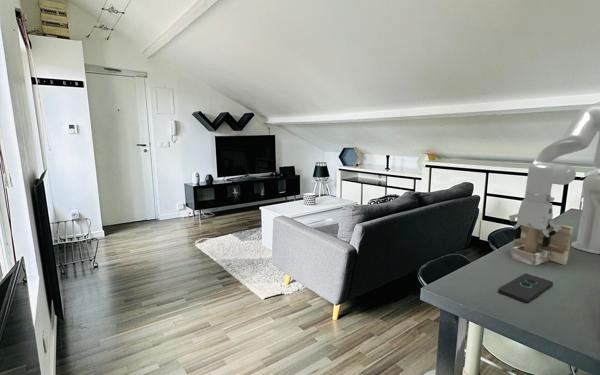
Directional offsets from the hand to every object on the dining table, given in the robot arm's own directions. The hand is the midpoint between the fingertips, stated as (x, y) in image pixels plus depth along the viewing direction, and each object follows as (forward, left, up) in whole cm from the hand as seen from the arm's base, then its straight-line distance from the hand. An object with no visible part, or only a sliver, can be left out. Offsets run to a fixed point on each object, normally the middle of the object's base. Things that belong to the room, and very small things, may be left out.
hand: (530, 242), depth 125 cm
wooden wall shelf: (-2, 0, -7) cm, 7 cm away
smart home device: (+26, +13, -7) cm, 30 cm away
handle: (0, 0, -7) cm, 7 cm away
